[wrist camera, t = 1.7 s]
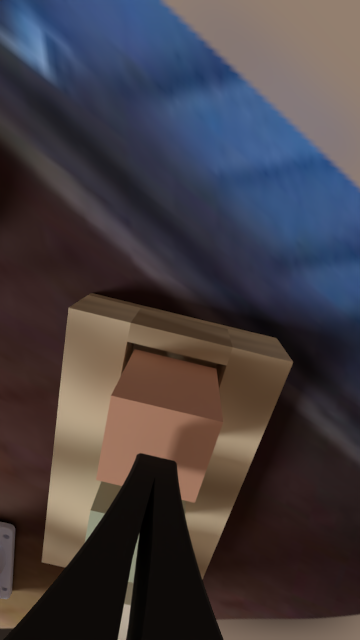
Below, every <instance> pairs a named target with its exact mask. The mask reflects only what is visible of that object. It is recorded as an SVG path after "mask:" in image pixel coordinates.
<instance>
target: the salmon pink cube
mask: <svg viewBox="0 0 360 640" xmlns="http://www.w3.org/2000/svg"><path fill="white" fill-rule="evenodd" d="M222 425H223V416H222V408H221V400H220V393H219V385H218V377H217V369H215V368H211V367H207V366H203V365H199V364H195V363H190V362H186V361H182V360H178V359H174V358H170V357H166V356H161V355H157V354H153V353H149V352H145V351H141V350H136V349H134V351H133V353H132V355H131V357H130V359H129V361H128V363H127V365H126V367H125V369H124V371H123V373H122V375H121V377H120V379H119V381H118V383H117V385H116V387H115V389H114V391H113V393H112V395H111V399H110V404H109V410H108V415H107V421H106V426H105V432H104V438H103V443H102V449H101V454H100V460H99V465H98V471H97V476H96V480H98V481H102V482H107V483H111V484H115V485H120V486H122V485H123V484H124V482H125V480H126V478H127V476H128V474H129V472H130V470H131V468H132V466H133V464H134V461H135V458H136V455H137V454H139V453H143V454H147V455H151V456H156V457H160V458H164V459H168V460H173V461H175V462H176V463H177V471H178V480H179V487H180V493H181V499H182V500H185V501H189V502H193V503H195V501H196V498H197V495H198V493H199V490H200V487H201V484H202V481H203V478H204V476H205V473H206V470H207V467H208V464H209V461H210V459H211V456H212V453H213V450H214V447H215V444H216V442H217V439H218V436H219V433H220V430H221V427H222Z"/></svg>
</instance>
